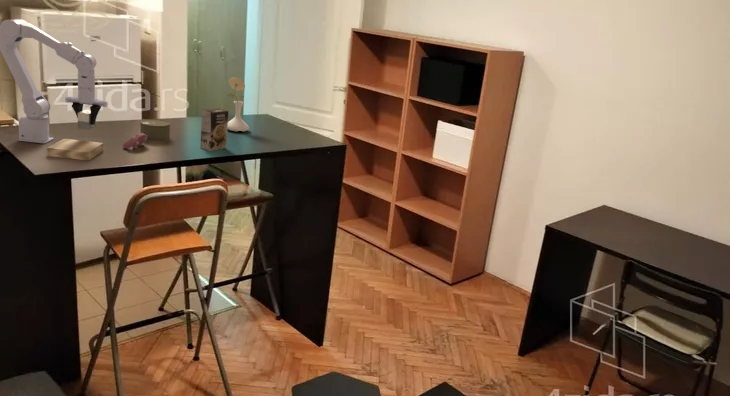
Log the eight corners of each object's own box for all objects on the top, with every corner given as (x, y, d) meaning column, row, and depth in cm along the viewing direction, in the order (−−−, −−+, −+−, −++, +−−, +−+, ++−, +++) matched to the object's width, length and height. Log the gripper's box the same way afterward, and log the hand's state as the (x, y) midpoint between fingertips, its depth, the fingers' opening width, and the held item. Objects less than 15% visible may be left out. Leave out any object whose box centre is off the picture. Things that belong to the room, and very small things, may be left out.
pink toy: (130, 153, 225) (138, 139, 223) (120, 147, 225) (128, 132, 223) (144, 148, 235) (151, 134, 232) (135, 142, 235) (142, 128, 232)
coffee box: (210, 151, 239) (212, 112, 233) (199, 147, 242) (201, 109, 236) (226, 148, 246) (229, 110, 241) (215, 144, 249) (218, 107, 244)
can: (175, 140, 247) (175, 125, 244) (148, 143, 238) (148, 126, 236) (161, 134, 254) (161, 118, 252) (134, 135, 245) (134, 119, 243)
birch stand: (47, 156, 204) (47, 147, 203) (64, 146, 218) (64, 138, 217) (89, 160, 206) (88, 152, 205) (103, 150, 219) (103, 143, 218)
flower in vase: (253, 132, 281) (257, 80, 273) (236, 134, 271) (240, 80, 263) (234, 125, 287) (237, 75, 279) (217, 128, 278) (220, 75, 270)
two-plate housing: (77, 128, 218) (77, 112, 216) (85, 124, 224) (84, 109, 223) (89, 129, 218) (88, 114, 216) (95, 126, 225) (95, 110, 223)
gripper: (110, 88, 221) (110, 123, 225) (70, 83, 219) (71, 118, 224) (103, 91, 214) (103, 127, 219) (62, 86, 213) (63, 122, 217)
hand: (86, 123), depth 221 cm, fingers closed on two-plate housing, 4 cm apart
